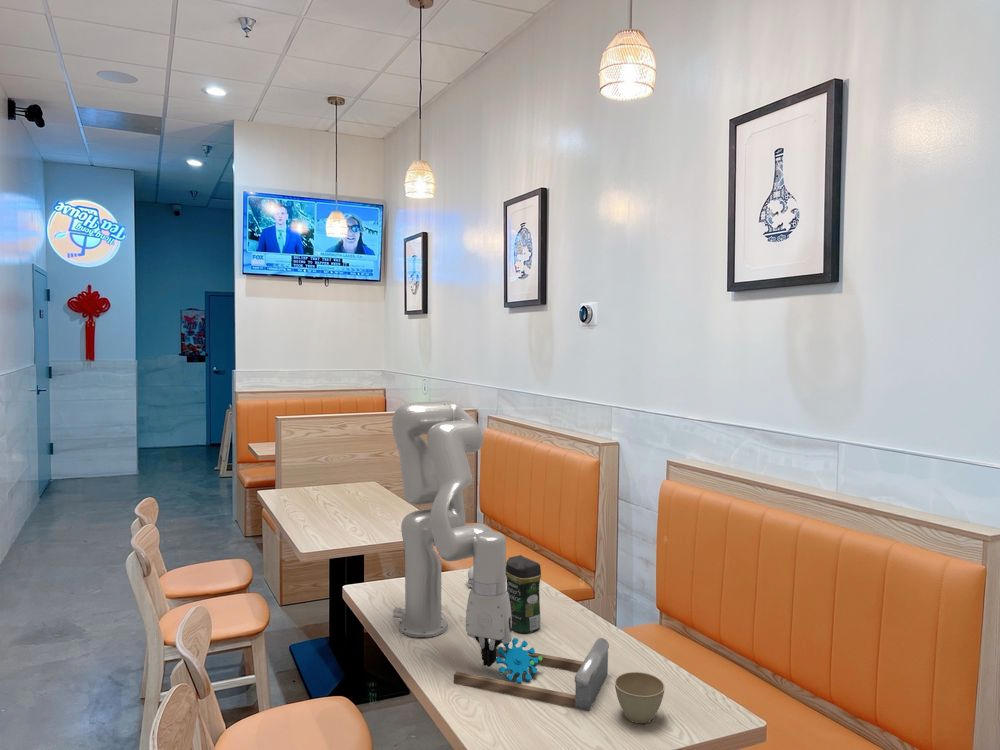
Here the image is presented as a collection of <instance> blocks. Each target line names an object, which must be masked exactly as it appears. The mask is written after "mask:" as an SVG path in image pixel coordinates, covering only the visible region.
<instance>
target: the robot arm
mask: <svg viewBox="0 0 1000 750" xmlns="http://www.w3.org/2000/svg"><path fill="white" fill-rule="evenodd" d="M391 430H392V435H393V439H394V441H395V445H396V448H397V450H398V454H399V463H400V473H401V474H400V475H401V481H402V490H403V495H404V499H405V501H406V502H407V503H408V504H409V505H413V506H421V505H428V504H432V506H431V508H426V509H425V508H424V509H419V510H414V511H411V512H410V513H408V514H407V515H405V516H404V518H403V519H402V522H401V525H400V531H401V537H402V543H403V550H404V571H405V572H404V573H405V574H404V575H405V576H404V578H405V579H404V581H405V583H404V592H405V593H404V594H405V595H404V596H405V598H404V599H405V600H404V602H405V603H404V604H405V605H404V608H402V607H397V606H395V607H394V608H393V614H392V618H393V619H394V618H395V619H400V620H401V622H399V625H398V626H399V632H400V633H401V632H402V633H401V634H403V633H404V634H405V636H407V635H408V636H407V637H410V636H411V637H410V638H416V637H426V638H431V637H432V636H433V637H436V636H439V635H442V634H443V633H444V632H445V631H446V630H447V629H448V622H447V620H446V619H445V618H443V617H442V560H444V561H445V562H456V561H461V560H464V559H465V560H466V559H469V558H472V561H473V562H472V563H473V565H472V566H473V578H472V579H471V578H468V580H467V585H468V584H471V585H472V588H471V589H470V590H469V593H468V598H467V605H466V614H465V625H464V626H465V632H466V635H467V636H468V637H470V638H472V639H475V641H476V642H477V643H478V644H479V648H480V649H481V648H482V654H481V660H482V665H483V666H484V667H486V666H487V667H488V668H490V667H492V666H493V664H494V663H496V658H497V657H496V647H497V646H499V645H501V644H502V645H503V644H505V643H509V644H510V643H511V642H512V640H513V638H512V635H511V632H512V630H513V629H512V616H511V605H510V599H509V594H508V592H507V579H506V562H507V539H506V536H505V535H504V534H503V533H501V532H499V531H494V530H493V529H492V528H491V527H490V526H488V525H487V524H486V523H479V522H477V523H473V524H467V523H466V522H467V521H466V513H465V503H464V494H463V493H464V492H463V490H465V489H466V488H467V487H469V486H470V485H471V484H472V483H473V474H472V471H471V467H470V463H469V460H468V457H467V454H468V453H475V452H478V451H479V450H480V449H481V448H482V445H483V443H484V437H483V431H482V430H481V427H480V425H479V424H478V422H477V420H475V418H473V417H472V415H470V414H469V413H468V412H467V411H465V410H464V409H463V408H462V407H460V405H458V404H457V403H455V402H453V401H450V400H440V401H439V400H438V401H422V402H421V401H418V402H411V403H406V404H403V405H400V406H399V407H397V409H395V411H394V413H393V417H392V419H391ZM421 435H426V440H427V441H426V440H425V439H424V438H423V437H422V436H421ZM434 546H435V549H436V550H435V549H434ZM436 551H437V552H436ZM441 559H442V560H441ZM404 634H403V635H404Z"/></svg>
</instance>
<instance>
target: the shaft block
mask: <svg viewBox="0 0 1000 750" xmlns="http://www.w3.org/2000/svg"><path fill="white" fill-rule="evenodd" d="M609 647H610V644H609V641H607V639H605V638H603V637H599V638H597V639H596V641H595V642H594V643H593V645H592V647H591V649H590V650H589V652H588V654H587V656H586V657H585V659H584V661H583V664H582V665H581V667H580V669H579V670H578V672H576V674H575V675H574V682H575V690H574V693H575V694H574V695H575V708H574V709H577V710H578V709H579V710H582V711H587V712H590V710H591V708H592V706H593V705H594V703H595V701H596V699H597V697H598V694H599V692H600V690H601V688H602V687H603V685H604V683H605V681H606V679H607V676H608V671H609V669H608V667H609Z"/></svg>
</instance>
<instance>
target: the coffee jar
mask: <svg viewBox="0 0 1000 750" xmlns="http://www.w3.org/2000/svg"><path fill="white" fill-rule="evenodd" d="M541 579H542V569H541V564H540V563H539V562H537V561H535V560H532V559H530V558H528V557H525V556H523V555H522V554H520V555H513V556H510V557H508V559H506V592H508V594H509V599H510V605H511V616H512V630H513V631H515V632H517V633H520V634H521V633H522V634H524V633H529V634H530V633H534V632H536V631H537V630H539V629H540V628H541V604H540V585H541V584H540V583H541V582H540V581H541Z"/></svg>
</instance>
